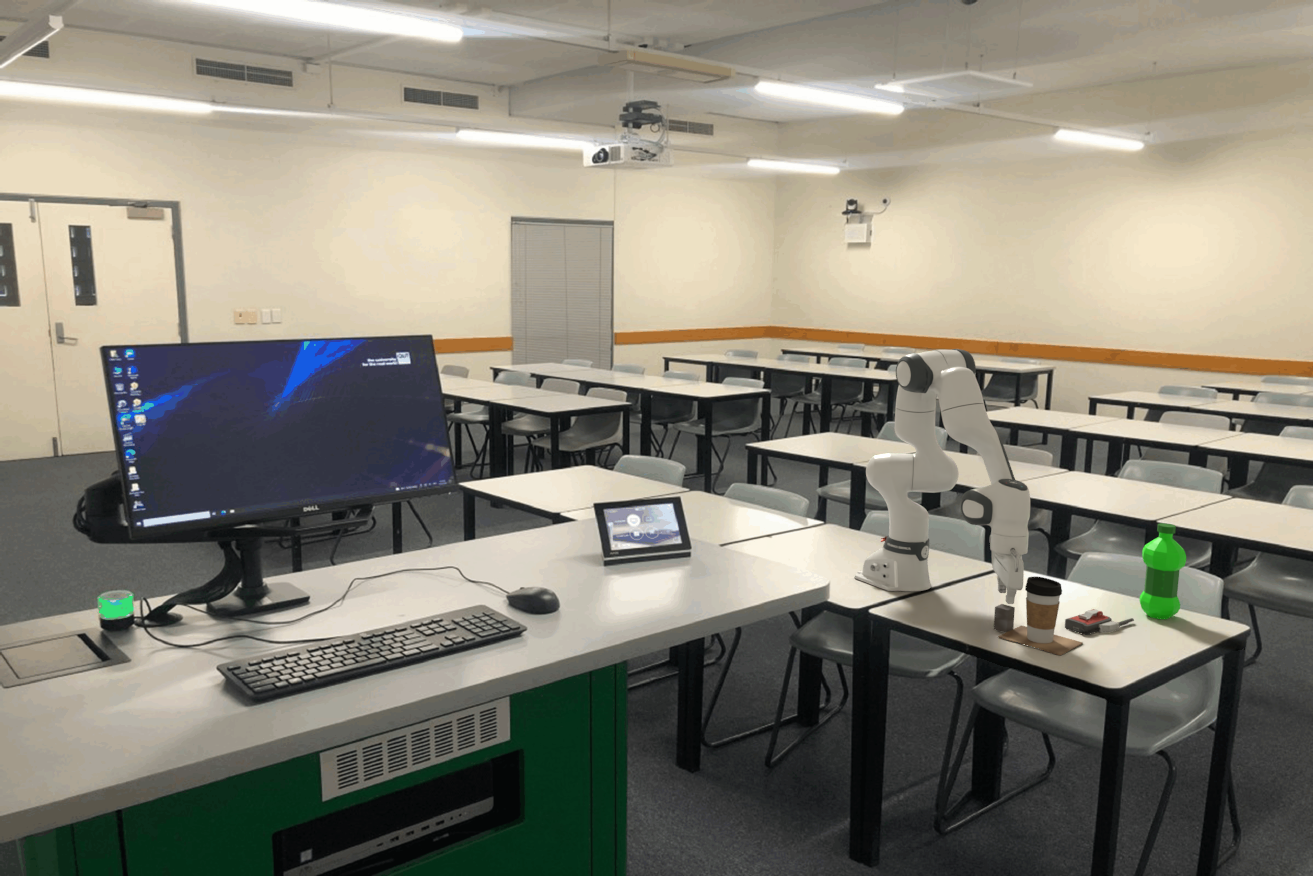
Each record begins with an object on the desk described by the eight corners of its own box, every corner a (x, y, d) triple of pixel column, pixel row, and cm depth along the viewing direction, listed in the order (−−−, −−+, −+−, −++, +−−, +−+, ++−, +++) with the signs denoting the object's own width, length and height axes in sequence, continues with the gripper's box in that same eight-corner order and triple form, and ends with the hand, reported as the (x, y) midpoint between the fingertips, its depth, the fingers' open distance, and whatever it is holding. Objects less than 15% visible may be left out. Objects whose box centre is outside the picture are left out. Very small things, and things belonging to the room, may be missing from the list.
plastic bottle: (1141, 607, 264) (1149, 518, 260) (1184, 615, 258) (1193, 525, 254) (1132, 616, 257) (1140, 525, 253) (1175, 625, 250) (1184, 532, 246)
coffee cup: (1030, 630, 244) (1034, 573, 242) (1064, 639, 238) (1068, 581, 236) (1015, 639, 238) (1019, 580, 236) (1049, 648, 232) (1053, 588, 230)
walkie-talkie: (1090, 640, 240) (1136, 626, 251) (1092, 623, 239) (1137, 609, 250) (1059, 630, 247) (1105, 616, 258) (1060, 613, 247) (1106, 600, 257)
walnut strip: (984, 633, 243) (986, 610, 242) (1008, 622, 250) (1010, 600, 250) (1060, 655, 228) (1062, 631, 227) (1083, 643, 236) (1084, 620, 235)
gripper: (1031, 555, 231) (1028, 610, 232) (1013, 535, 251) (1010, 587, 253) (1004, 553, 232) (1001, 609, 233) (988, 534, 252) (985, 586, 253)
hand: (1005, 597), depth 243 cm, fingers open, 8 cm apart
